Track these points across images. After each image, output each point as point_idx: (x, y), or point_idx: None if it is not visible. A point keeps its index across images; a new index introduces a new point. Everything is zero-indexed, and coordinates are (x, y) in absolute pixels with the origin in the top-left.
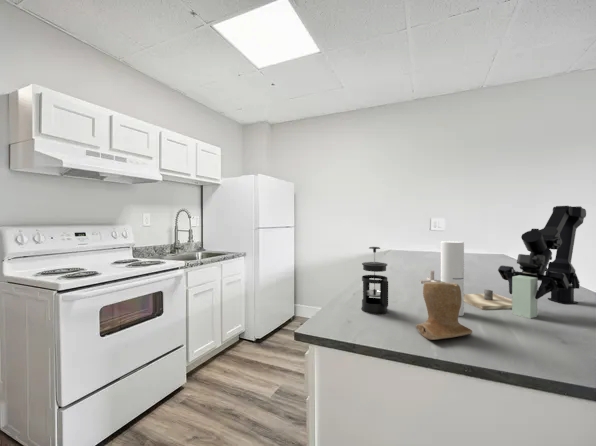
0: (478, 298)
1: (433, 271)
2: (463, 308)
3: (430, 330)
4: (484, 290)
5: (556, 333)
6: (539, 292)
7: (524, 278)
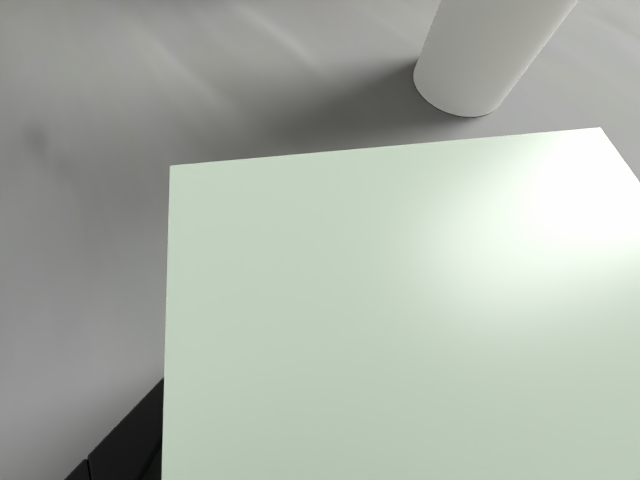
0: None
1: None
2: (435, 70)
3: None
4: None
5: (83, 215)
6: (155, 390)
7: (330, 157)
